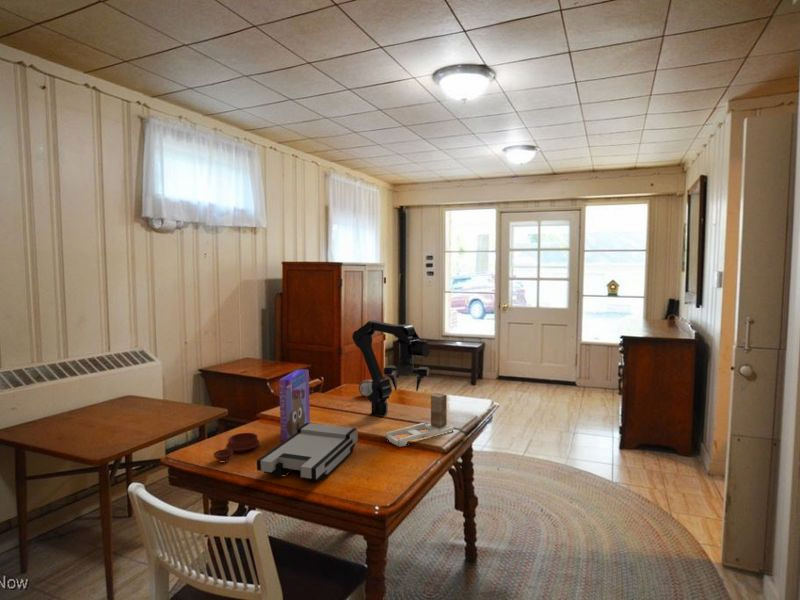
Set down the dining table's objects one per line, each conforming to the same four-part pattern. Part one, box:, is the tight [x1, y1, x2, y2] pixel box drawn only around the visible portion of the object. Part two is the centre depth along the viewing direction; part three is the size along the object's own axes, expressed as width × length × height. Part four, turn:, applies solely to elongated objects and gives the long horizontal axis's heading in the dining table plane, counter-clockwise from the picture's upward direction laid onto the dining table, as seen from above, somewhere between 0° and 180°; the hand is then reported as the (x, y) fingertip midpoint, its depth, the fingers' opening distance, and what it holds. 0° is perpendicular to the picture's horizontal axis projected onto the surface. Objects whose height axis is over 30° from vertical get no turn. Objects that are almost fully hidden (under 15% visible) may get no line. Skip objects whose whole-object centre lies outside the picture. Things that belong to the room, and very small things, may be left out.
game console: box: [256, 422, 359, 482], centre depth 164 cm, size 21×32×8 cm, turn 162°
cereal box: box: [278, 368, 311, 442], centre depth 192 cm, size 17×5×24 cm, turn 168°
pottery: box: [213, 432, 260, 461], centre depth 174 cm, size 12×20×4 cm, turn 162°
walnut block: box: [430, 392, 448, 428], centre depth 194 cm, size 4×4×12 cm
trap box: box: [385, 422, 455, 448], centre depth 189 cm, size 26×9×3 cm, turn 125°
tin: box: [358, 379, 373, 398], centre depth 243 cm, size 15×3×8 cm, turn 84°
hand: (406, 390), depth 206 cm, fingers open, 9 cm apart
